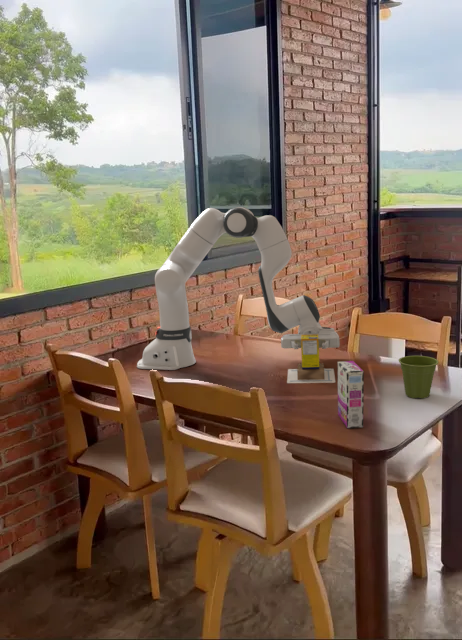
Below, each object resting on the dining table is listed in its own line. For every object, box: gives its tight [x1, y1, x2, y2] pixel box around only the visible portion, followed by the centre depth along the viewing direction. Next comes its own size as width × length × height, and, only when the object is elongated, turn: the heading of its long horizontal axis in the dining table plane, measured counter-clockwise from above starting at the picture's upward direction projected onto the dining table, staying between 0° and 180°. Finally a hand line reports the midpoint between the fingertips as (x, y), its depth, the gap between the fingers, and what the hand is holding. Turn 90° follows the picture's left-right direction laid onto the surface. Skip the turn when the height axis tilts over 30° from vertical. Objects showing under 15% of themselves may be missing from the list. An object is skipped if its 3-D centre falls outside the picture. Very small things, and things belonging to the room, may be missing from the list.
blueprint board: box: [286, 368, 336, 384], centre depth 228 cm, size 16×16×1 cm
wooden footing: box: [296, 362, 325, 380], centre depth 228 cm, size 9×9×3 cm
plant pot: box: [398, 355, 439, 399], centre depth 206 cm, size 12×12×11 cm
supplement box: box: [300, 334, 320, 369], centre depth 227 cm, size 6×6×11 cm
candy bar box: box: [337, 360, 365, 429], centre depth 187 cm, size 11×5×16 cm, turn 5°
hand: (310, 346), depth 225 cm, fingers open, 8 cm apart
